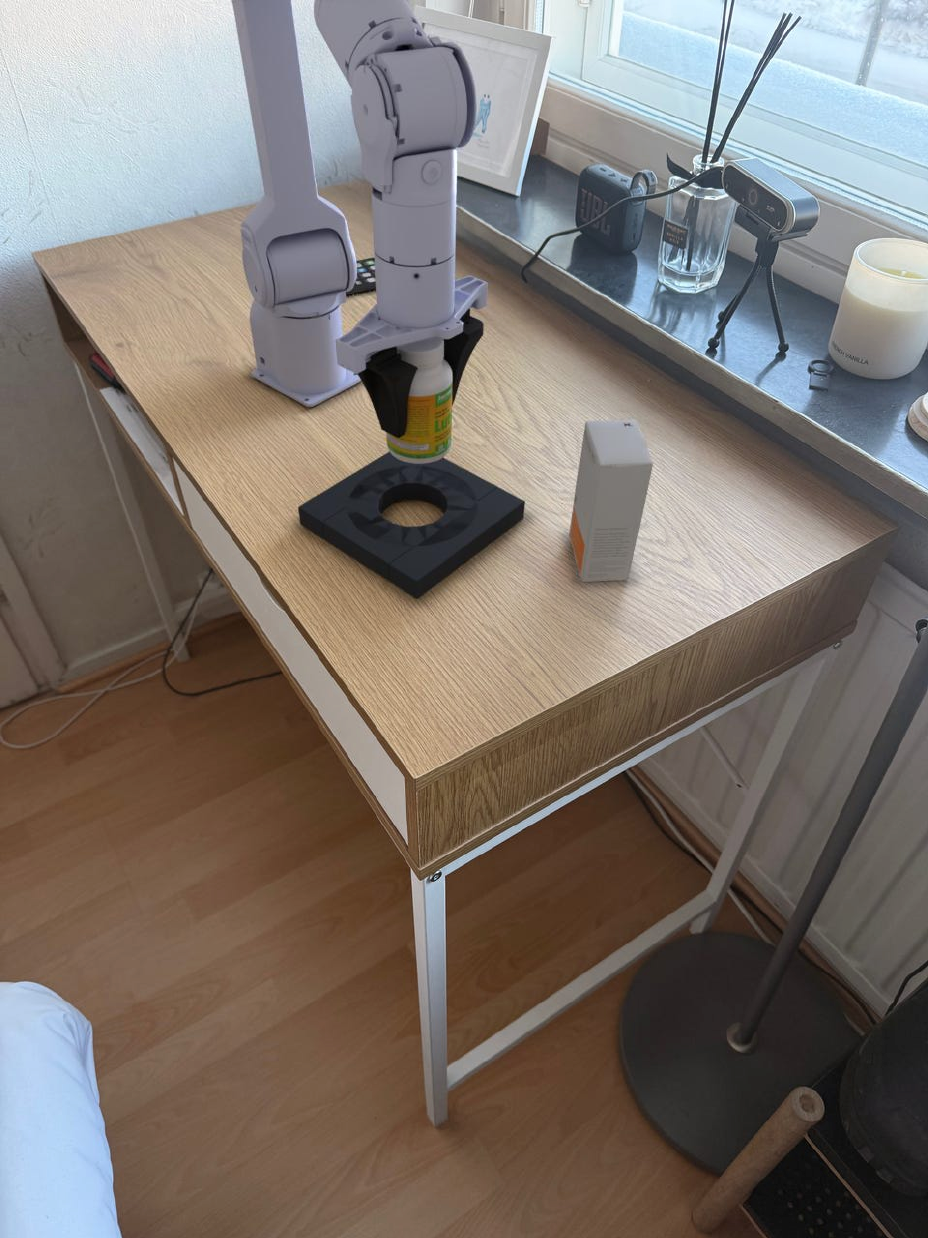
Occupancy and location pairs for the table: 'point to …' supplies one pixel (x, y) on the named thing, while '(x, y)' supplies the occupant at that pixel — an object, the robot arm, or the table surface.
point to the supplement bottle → (426, 405)
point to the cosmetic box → (609, 499)
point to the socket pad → (418, 550)
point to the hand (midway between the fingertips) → (417, 417)
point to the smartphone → (364, 276)
